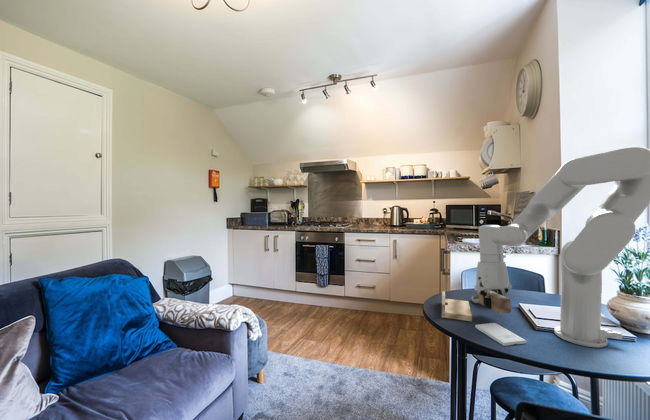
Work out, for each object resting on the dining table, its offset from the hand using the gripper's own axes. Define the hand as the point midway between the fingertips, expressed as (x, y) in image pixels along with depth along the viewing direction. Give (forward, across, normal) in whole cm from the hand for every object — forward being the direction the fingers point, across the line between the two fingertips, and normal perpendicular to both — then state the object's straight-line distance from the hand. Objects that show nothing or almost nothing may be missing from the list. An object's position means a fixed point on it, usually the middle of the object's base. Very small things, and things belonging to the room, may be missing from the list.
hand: (494, 306), depth 104 cm
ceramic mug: (+5, -7, -16) cm, 18 cm away
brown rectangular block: (+1, 0, 0) cm, 1 cm away
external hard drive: (+6, +7, +12) cm, 15 cm away
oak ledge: (+4, +10, -8) cm, 13 cm away
